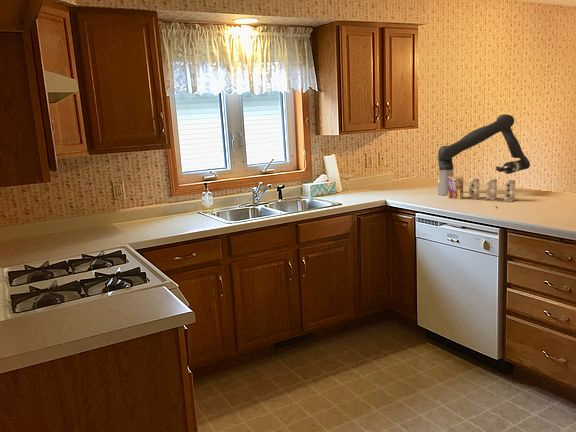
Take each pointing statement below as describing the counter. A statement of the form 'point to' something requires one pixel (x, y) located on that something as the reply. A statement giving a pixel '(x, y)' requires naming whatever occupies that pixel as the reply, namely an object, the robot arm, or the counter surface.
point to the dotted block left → (474, 188)
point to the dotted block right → (509, 190)
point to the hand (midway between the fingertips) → (499, 170)
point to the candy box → (455, 187)
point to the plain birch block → (491, 189)
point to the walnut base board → (491, 200)
